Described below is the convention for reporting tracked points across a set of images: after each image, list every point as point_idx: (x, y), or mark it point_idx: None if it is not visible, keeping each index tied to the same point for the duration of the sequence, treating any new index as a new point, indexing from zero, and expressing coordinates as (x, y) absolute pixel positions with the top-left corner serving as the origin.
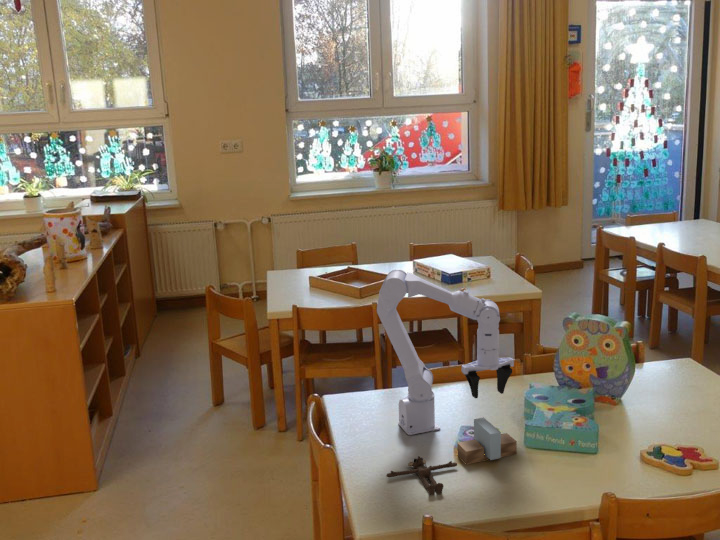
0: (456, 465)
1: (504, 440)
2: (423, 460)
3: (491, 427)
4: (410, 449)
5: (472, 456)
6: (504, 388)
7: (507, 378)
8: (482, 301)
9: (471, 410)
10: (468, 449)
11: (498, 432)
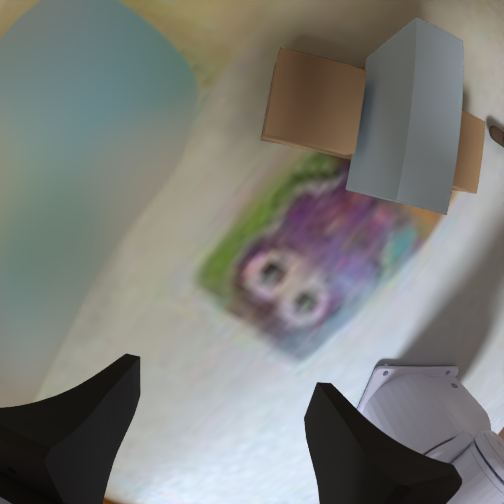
0: (492, 126)
1: (322, 83)
2: None
3: (431, 78)
4: (499, 297)
5: None
6: (108, 366)
7: (54, 401)
8: None
9: (198, 421)
10: (474, 126)
11: (426, 23)
